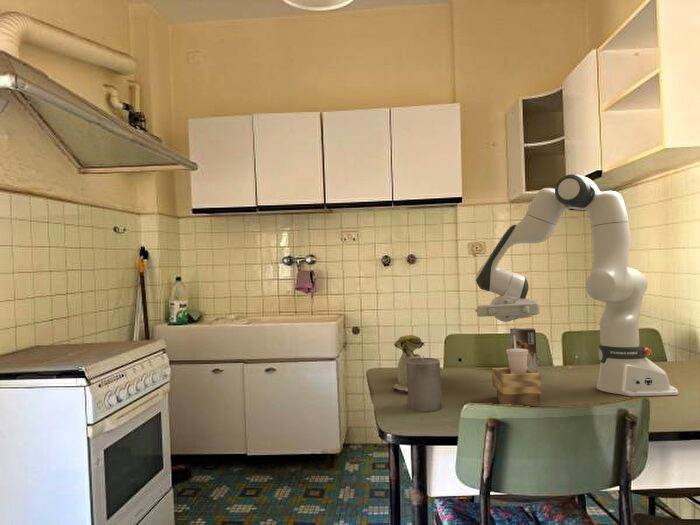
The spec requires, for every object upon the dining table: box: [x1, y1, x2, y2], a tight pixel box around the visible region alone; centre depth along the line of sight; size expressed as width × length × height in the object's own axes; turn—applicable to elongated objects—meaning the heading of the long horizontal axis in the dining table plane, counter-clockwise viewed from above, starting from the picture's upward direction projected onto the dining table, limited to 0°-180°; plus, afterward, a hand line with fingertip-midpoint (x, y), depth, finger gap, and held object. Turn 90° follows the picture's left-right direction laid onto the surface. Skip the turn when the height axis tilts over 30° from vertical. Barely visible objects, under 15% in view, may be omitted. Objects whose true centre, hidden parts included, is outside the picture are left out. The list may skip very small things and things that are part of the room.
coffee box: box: [509, 327, 538, 370], centre depth 202 cm, size 9×6×16 cm
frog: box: [392, 334, 425, 392], centre depth 172 cm, size 12×13×18 cm
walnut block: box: [496, 389, 541, 407], centre depth 154 cm, size 11×11×4 cm
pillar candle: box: [407, 355, 443, 413], centre depth 150 cm, size 10×10×15 cm
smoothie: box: [505, 335, 528, 374], centre depth 154 cm, size 6×6×14 cm
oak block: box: [491, 367, 542, 395], centre depth 154 cm, size 11×11×6 cm
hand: (510, 310), depth 167 cm, fingers open, 8 cm apart
